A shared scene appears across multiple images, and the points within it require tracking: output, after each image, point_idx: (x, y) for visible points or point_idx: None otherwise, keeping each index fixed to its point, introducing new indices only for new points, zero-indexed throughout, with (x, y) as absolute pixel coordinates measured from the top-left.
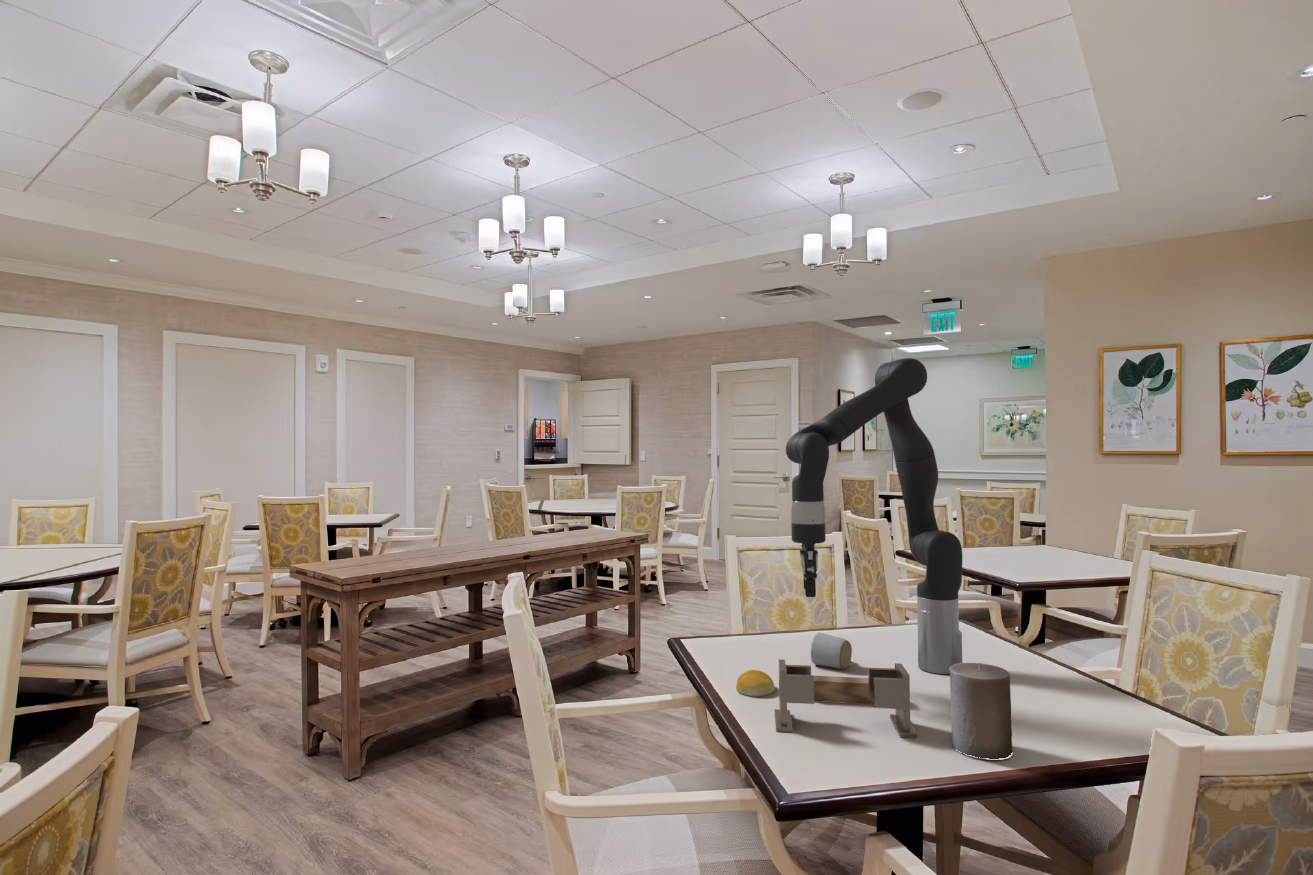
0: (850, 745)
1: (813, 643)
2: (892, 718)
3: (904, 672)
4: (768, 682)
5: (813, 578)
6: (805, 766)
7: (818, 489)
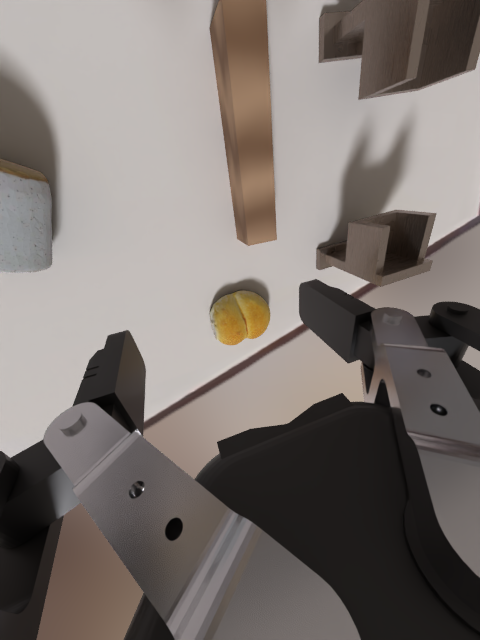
0: (406, 151)
1: (34, 266)
2: (341, 56)
3: None
4: (255, 300)
5: (428, 318)
6: (441, 206)
7: None
